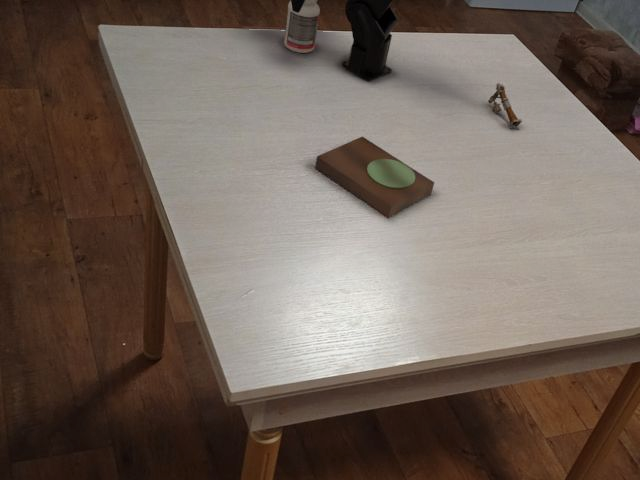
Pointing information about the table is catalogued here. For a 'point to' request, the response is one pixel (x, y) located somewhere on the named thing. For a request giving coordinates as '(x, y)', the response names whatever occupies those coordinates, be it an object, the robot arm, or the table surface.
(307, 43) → the pill bottle
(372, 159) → the wooden coaster tray
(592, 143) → the table surface
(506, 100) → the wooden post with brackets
